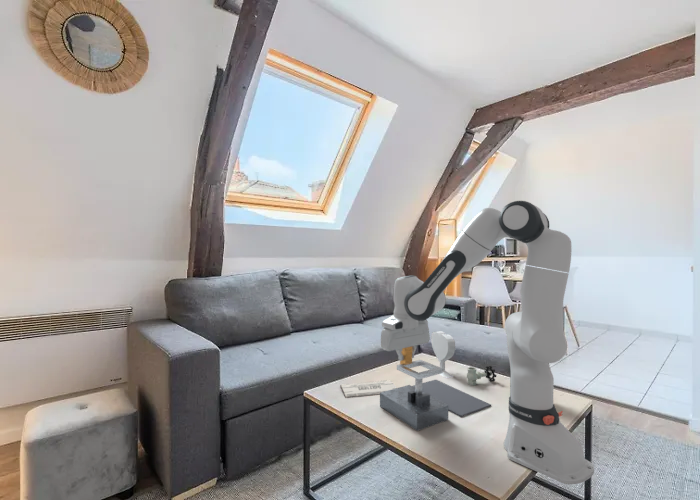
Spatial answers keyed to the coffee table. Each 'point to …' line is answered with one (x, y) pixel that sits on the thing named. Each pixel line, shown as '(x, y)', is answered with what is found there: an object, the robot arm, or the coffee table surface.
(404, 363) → the square frame with handle
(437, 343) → the heart sculpture
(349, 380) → the coffee table surface
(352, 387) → the newspaper
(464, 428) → the coffee table surface
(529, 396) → the robot arm
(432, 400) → the toggle switch
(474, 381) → the valve
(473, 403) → the mat
